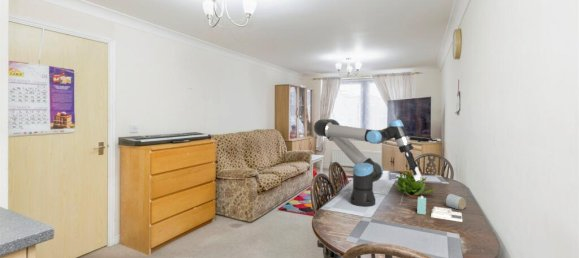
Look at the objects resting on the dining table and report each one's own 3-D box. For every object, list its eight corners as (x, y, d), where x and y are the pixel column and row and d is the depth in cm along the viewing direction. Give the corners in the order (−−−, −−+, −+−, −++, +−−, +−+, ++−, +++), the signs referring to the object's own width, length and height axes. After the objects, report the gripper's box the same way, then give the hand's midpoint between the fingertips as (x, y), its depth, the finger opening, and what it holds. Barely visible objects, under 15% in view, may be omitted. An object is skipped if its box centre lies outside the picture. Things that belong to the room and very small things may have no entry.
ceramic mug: (459, 211, 163) (459, 197, 162) (445, 207, 170) (445, 194, 169) (469, 208, 168) (470, 195, 168) (455, 205, 175) (456, 192, 175)
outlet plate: (431, 217, 153) (431, 212, 153) (432, 210, 163) (432, 205, 163) (462, 222, 146) (462, 216, 146) (461, 214, 157) (461, 210, 156)
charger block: (417, 213, 159) (417, 196, 158) (417, 211, 162) (418, 194, 162) (425, 214, 157) (425, 197, 156) (425, 212, 160) (426, 195, 160)
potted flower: (437, 195, 196) (438, 169, 195) (433, 204, 176) (434, 175, 175) (398, 189, 209) (399, 165, 209) (390, 197, 189) (391, 170, 189)
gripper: (409, 142, 161) (424, 179, 157) (412, 142, 184) (426, 174, 179) (395, 147, 165) (410, 183, 160) (400, 146, 187) (413, 178, 182)
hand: (418, 179), depth 170 cm, fingers open, 13 cm apart
